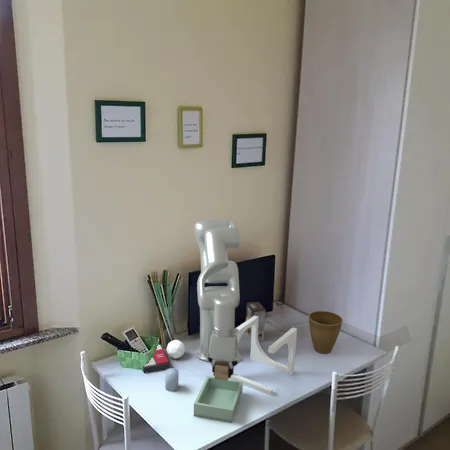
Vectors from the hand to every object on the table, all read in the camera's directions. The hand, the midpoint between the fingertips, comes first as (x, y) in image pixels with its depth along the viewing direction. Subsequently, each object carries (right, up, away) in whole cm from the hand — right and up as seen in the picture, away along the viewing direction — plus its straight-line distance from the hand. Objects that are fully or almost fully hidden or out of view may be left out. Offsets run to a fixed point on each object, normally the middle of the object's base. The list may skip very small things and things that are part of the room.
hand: (222, 374), depth 174 cm
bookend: (+16, -6, +18) cm, 24 cm away
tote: (-1, -10, -1) cm, 11 cm away
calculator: (-30, -3, +25) cm, 39 cm away
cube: (0, 0, 0) cm, 1 cm away
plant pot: (+45, -1, +39) cm, 60 cm away
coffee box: (+15, +2, +49) cm, 51 cm away
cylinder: (-20, -7, +8) cm, 22 cm away
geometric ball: (-21, -2, +30) cm, 36 cm away
